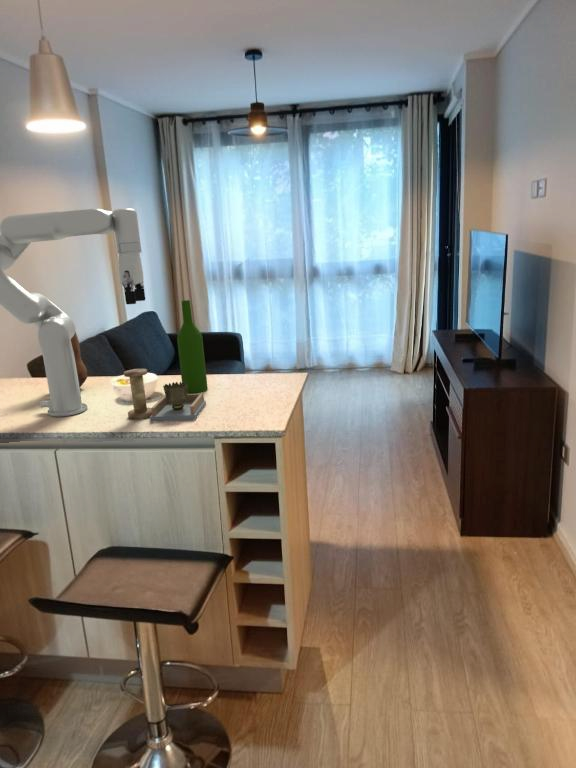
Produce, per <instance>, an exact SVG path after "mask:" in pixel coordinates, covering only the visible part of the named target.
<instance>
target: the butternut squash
mask: <svg viewBox="0 0 576 768" xmlns="http://www.w3.org/2000/svg"><path fill="white" fill-rule="evenodd" d="M79 340H80V339H79V338H78V334H77V332H76V331H75V334H74V336H73V337H72V338H71V344H72V348H73V352H74V357H75V363H76V369H77V375H78V381H79V388H80V389H81V387H82V386H83V385H84V383H85V382H86V380H87V378H88V370H87V367H86V365H85V364H84V361H83V360H82V356H81V346H80V341H79Z"/></svg>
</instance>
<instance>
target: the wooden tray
mask: <svg viewBox="0 0 576 768" xmlns="http://www.w3.org/2000/svg"><path fill="white" fill-rule="evenodd" d="M204 395H205V394H204V392H202V393H197V394H187V400H186V402H185V403H183V405H184V407H183V409H180V410H174V409H173V408H172V405H171V404H169V403H168V401H167V399H166V396H165V394H164V395H163V396H162V397H161V398H160V399H158V401H157V402H156V403H155V404H154V405H153V406H152V407H150V408H151V410H152V415H151V416H150V417H149V422H150V423H151V422H152V423H154V422H153V421H158V422H174V421H175V422H176V421H177V420H180V421H194V420H193V419H196V420H197V418H198V417H199V416H200V414H201V413H202V412H203V410H204V409H205V407H206V406H207V402H206V400H205V396H204ZM205 405H206V406H205ZM204 406H205V407H204ZM203 408H204V409H203ZM202 409H203V410H202ZM200 412H201V413H200ZM199 413H200V414H199ZM198 415H199V416H198ZM197 416H198V417H197ZM177 422H178V421H177Z"/></svg>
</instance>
